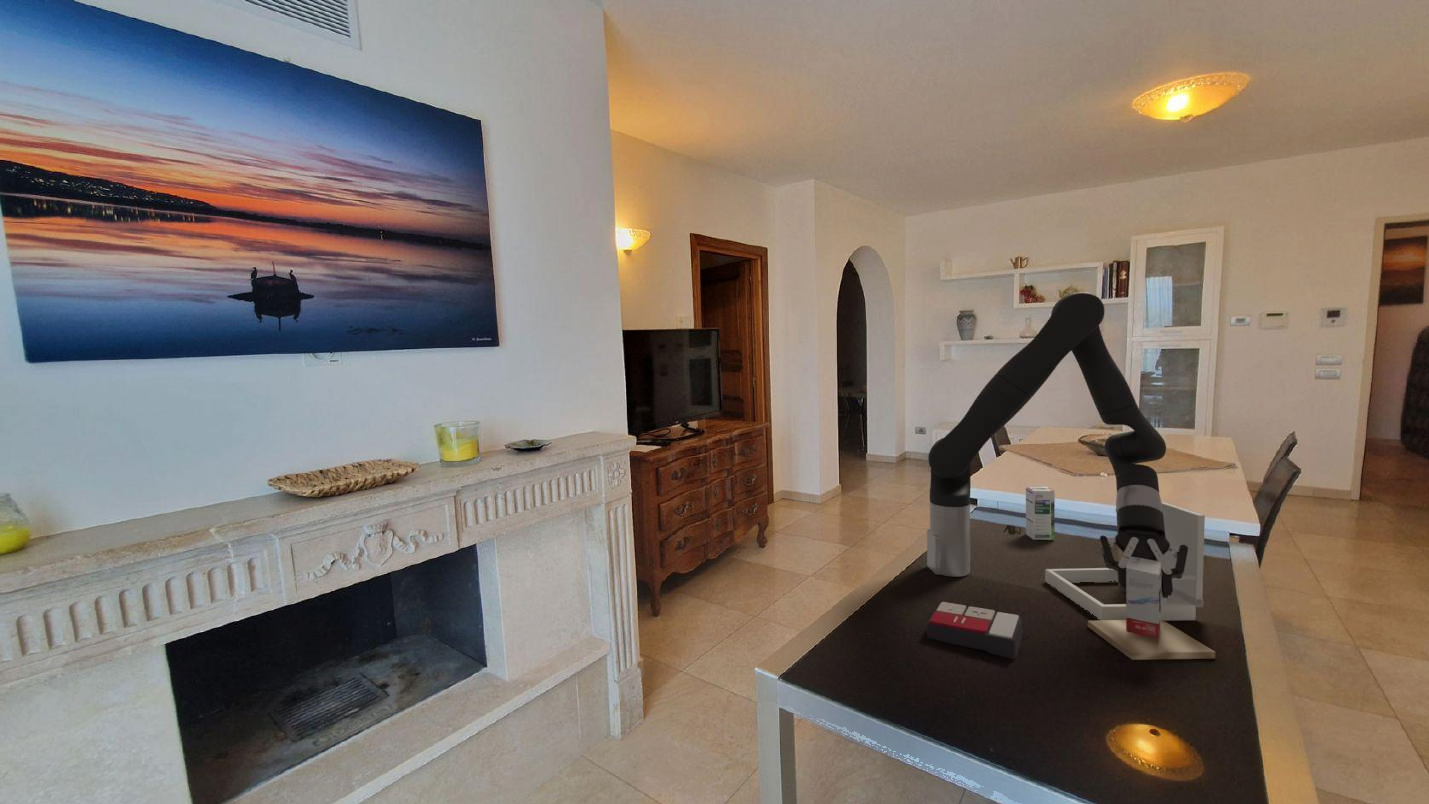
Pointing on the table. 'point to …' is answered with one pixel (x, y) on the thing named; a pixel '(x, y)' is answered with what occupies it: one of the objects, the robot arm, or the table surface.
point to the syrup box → (1040, 513)
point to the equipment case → (1178, 531)
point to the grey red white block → (976, 629)
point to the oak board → (1151, 642)
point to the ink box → (1143, 596)
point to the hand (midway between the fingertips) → (1145, 592)
